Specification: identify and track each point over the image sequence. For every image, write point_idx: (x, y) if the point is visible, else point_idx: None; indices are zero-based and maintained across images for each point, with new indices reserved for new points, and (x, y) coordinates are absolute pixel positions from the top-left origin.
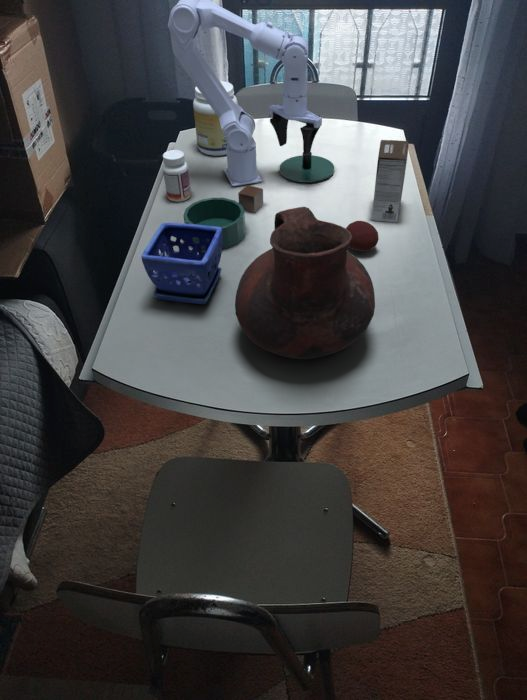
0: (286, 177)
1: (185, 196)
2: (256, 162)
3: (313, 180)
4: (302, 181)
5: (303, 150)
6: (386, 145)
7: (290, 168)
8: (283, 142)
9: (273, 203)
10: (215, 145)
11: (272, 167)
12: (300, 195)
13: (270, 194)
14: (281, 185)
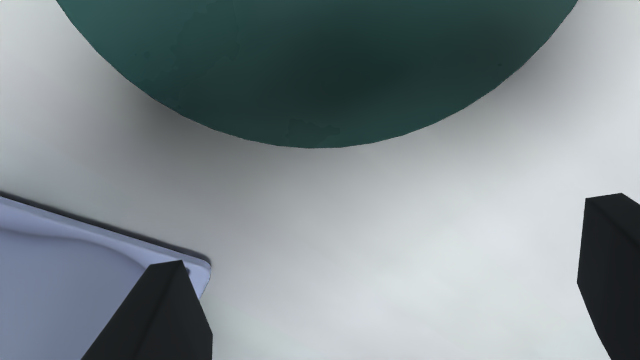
0: (316, 144)
1: None
2: (92, 333)
3: (552, 31)
4: (469, 99)
5: (595, 324)
6: None
7: (220, 26)
8: (194, 332)
9: (468, 343)
10: None
11: (37, 64)
12: (552, 197)
13: (379, 304)
14: (345, 199)
